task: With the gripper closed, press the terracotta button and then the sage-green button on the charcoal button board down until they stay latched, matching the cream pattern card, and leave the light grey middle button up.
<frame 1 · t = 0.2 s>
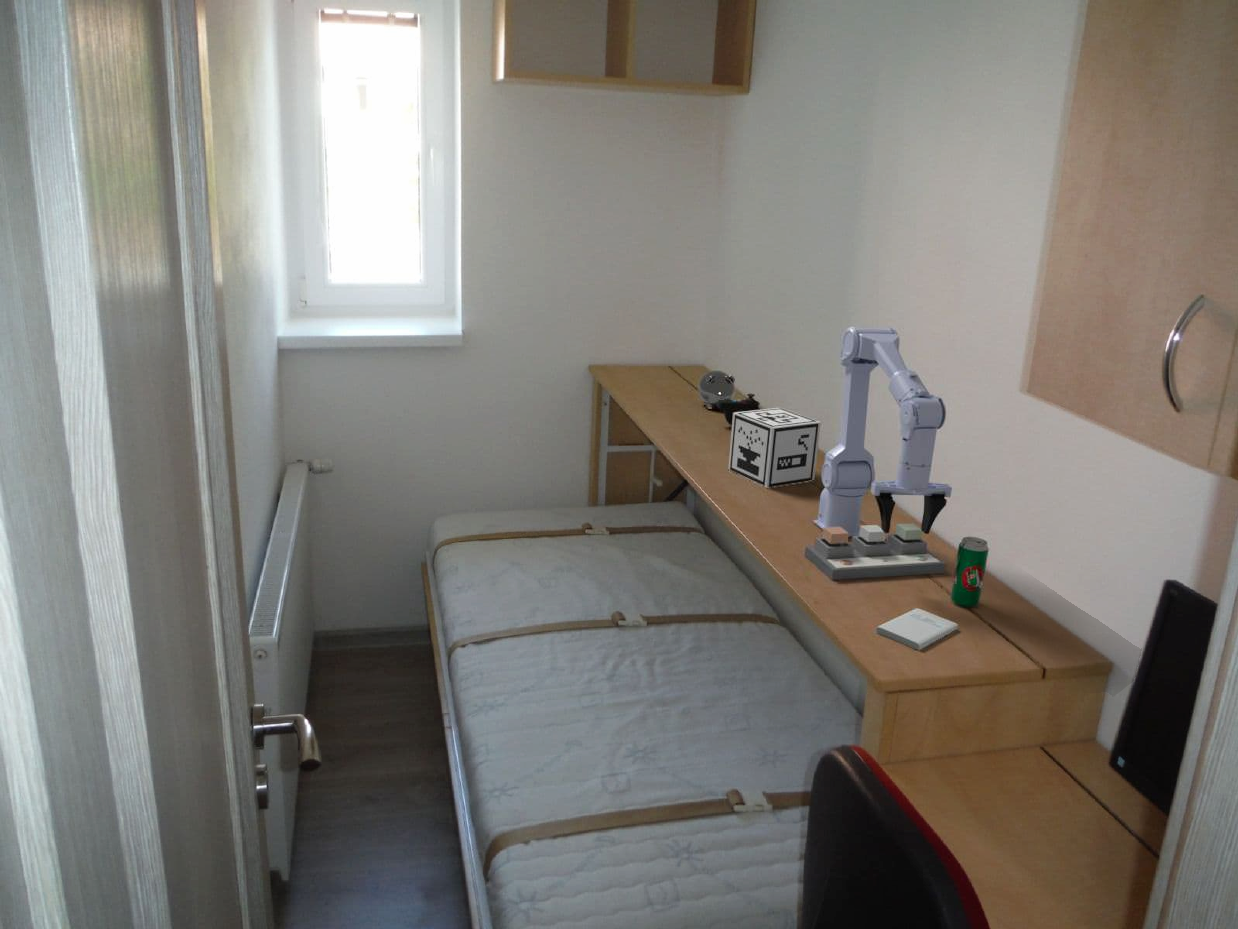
hand: (905, 531, 191), 10 cm above the shelf, tool pointing down, fingers open, 7 cm apart
controller: (736, 428, 295), on the shelf
sage button: (908, 531, 203), point 6 cm above the shelf, slide at 0.0 cm
external hard drive: (916, 634, 174), on the shelf
soda can: (964, 603, 186), on the shelf
terracotta button: (835, 535, 199), point 6 cm above the shelf, slide at 0.0 cm
piggy bank: (715, 408, 317), on the shelf
button board: (873, 564, 201), on the shelf
pattern card: (882, 571, 198), resting on button board
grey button: (872, 533, 201), point 6 cm above the shelf, slide at 0.0 cm
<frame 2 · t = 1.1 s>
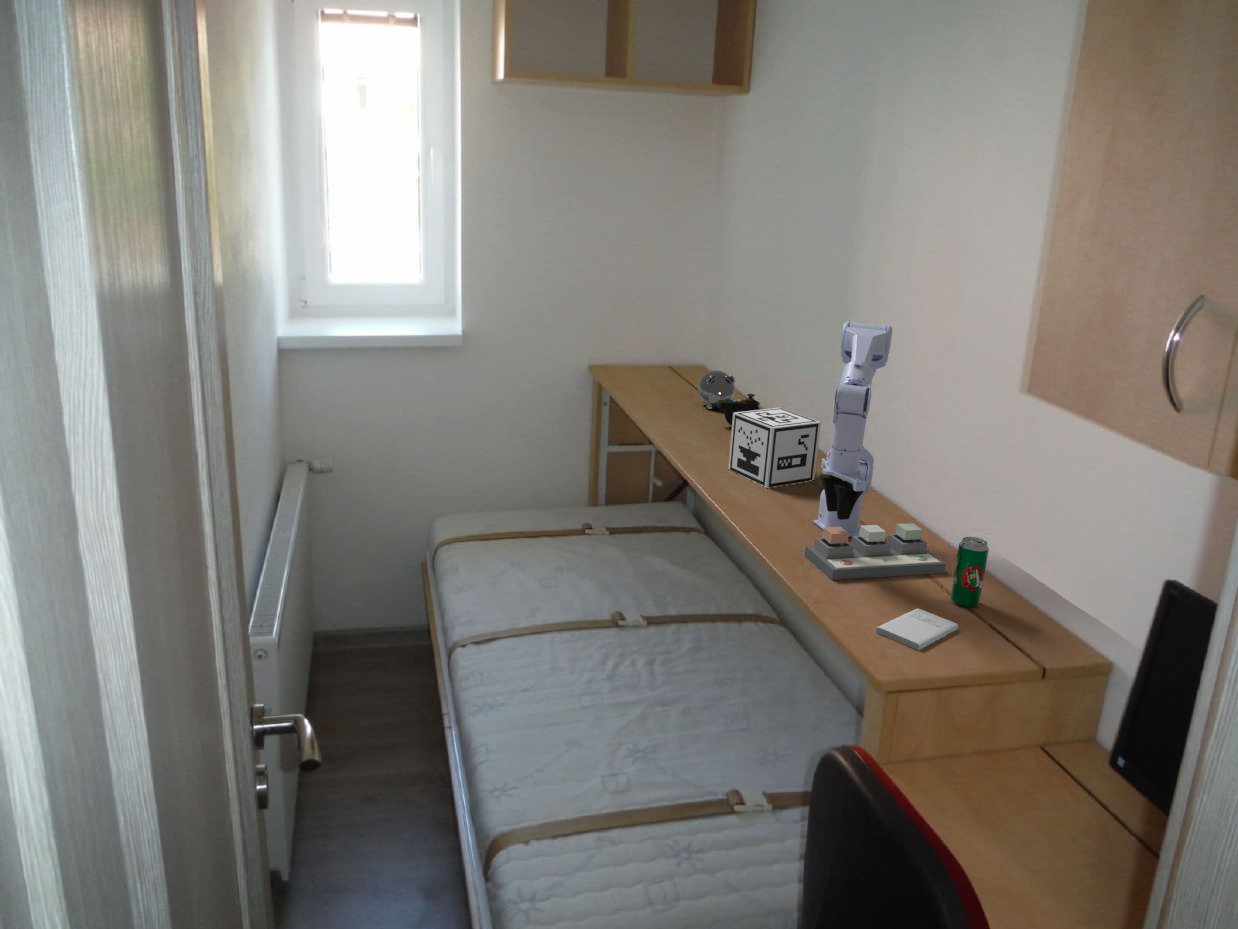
hand: (837, 514, 198), 10 cm above the shelf, tool pointing down, fingers open, 4 cm apart
nothing on the shelf moved.
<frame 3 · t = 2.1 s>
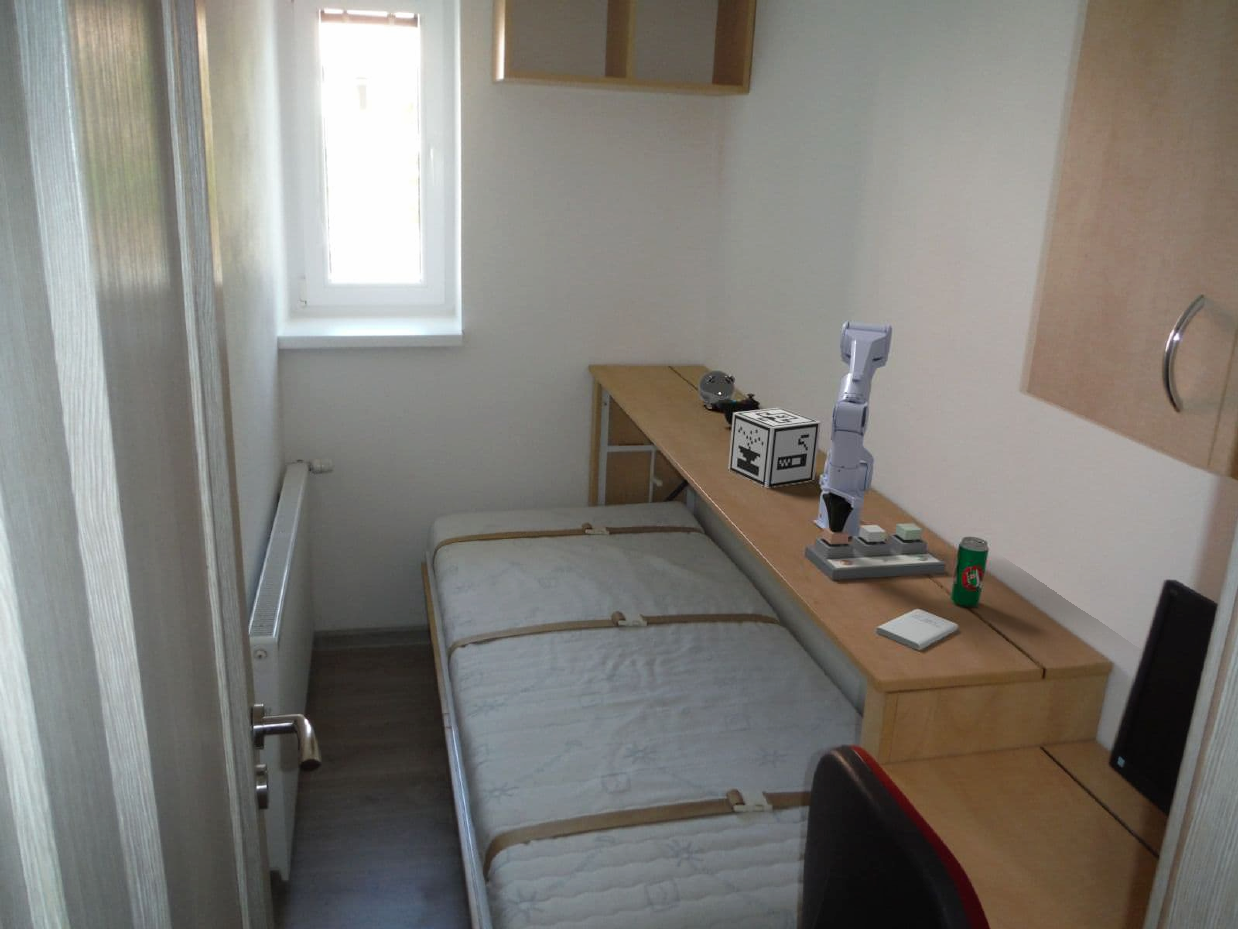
hand: (835, 531, 199), 7 cm above the shelf, tool pointing down, fingers closed, pressing on terracotta button
terracotta button: (835, 535, 199), point 6 cm above the shelf, slide at 0.1 cm, touching gripper
everything else where it was.
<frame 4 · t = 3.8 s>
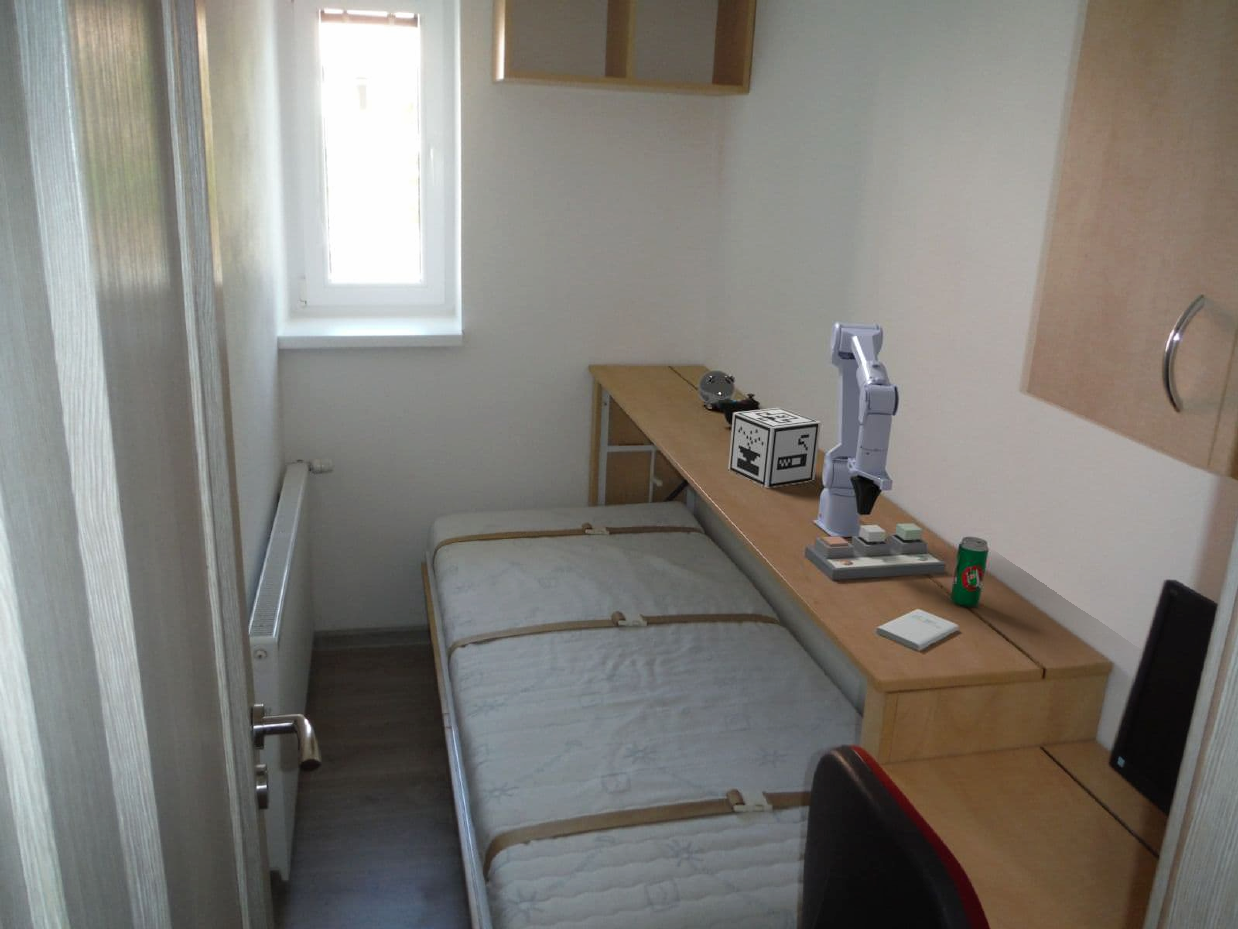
hand: (863, 513, 199), 10 cm above the shelf, tool pointing down, fingers closed
terracotta button: (834, 544, 200), point 4 cm above the shelf, slide at 2.0 cm
everything else where it was.
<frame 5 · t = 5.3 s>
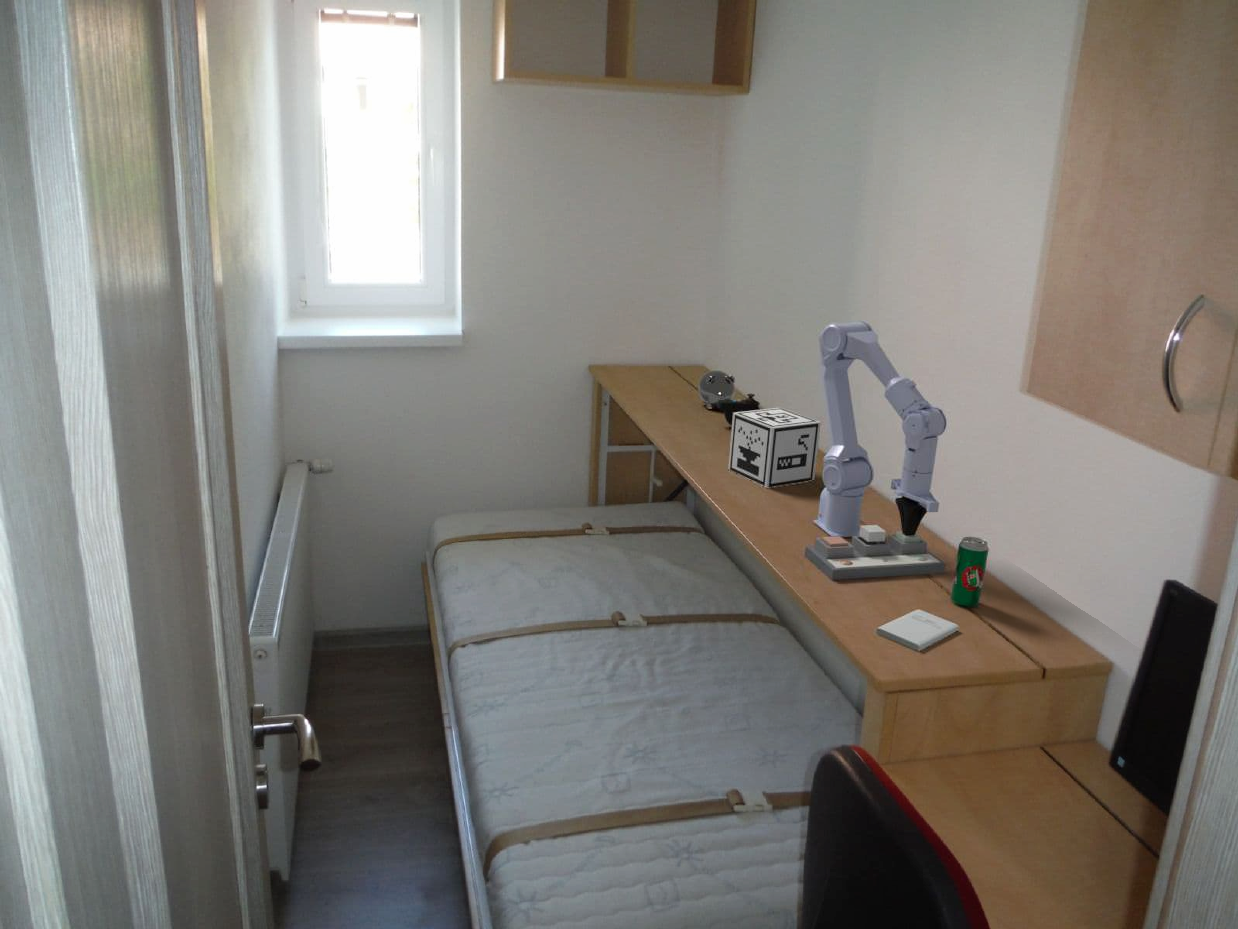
hand: (908, 534, 203), 5 cm above the shelf, tool pointing down, fingers closed, pressing on sage button
sage button: (907, 538, 204), point 4 cm above the shelf, slide at 1.6 cm, touching gripper
everything else where it was.
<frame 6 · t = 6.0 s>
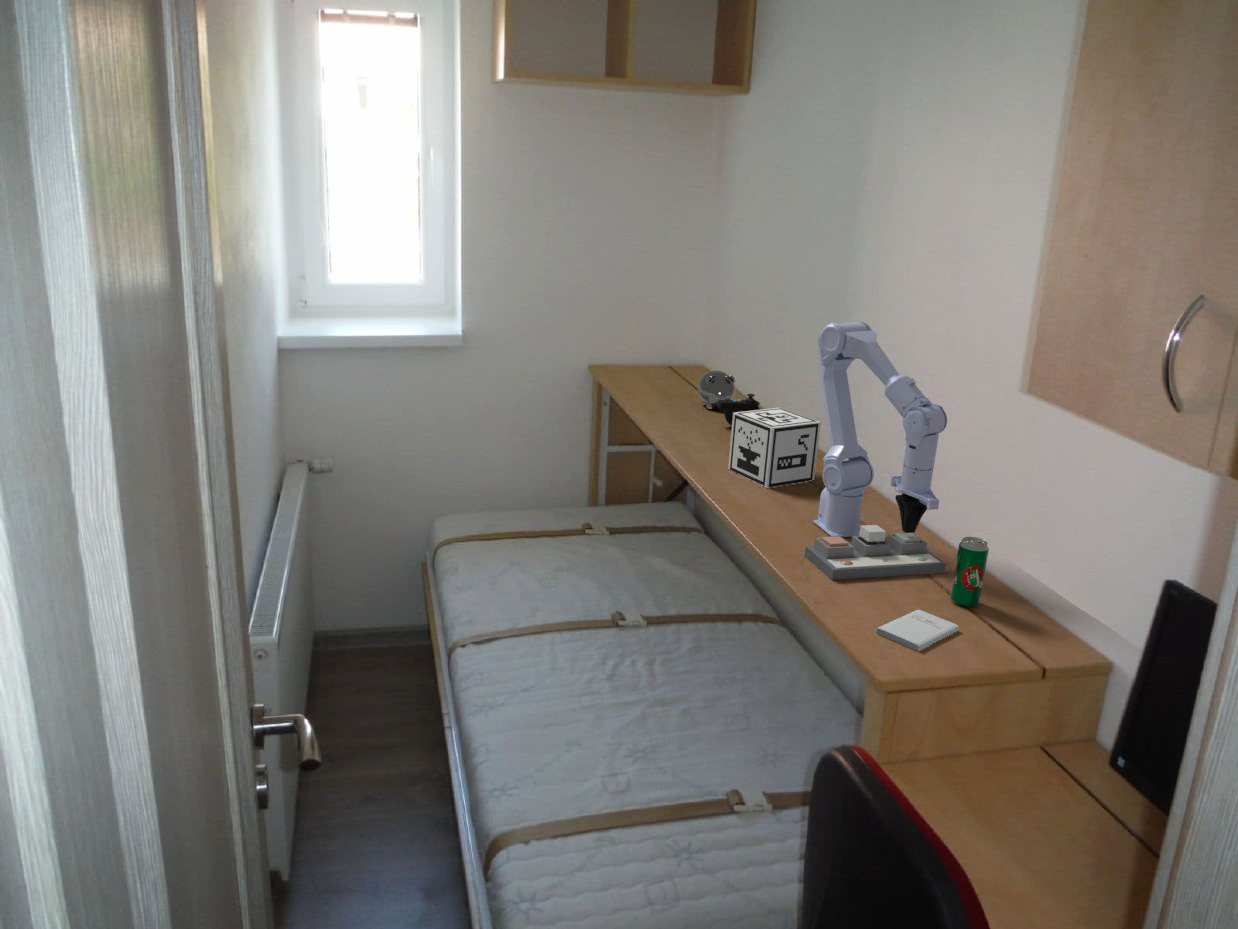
hand: (908, 531, 203), 6 cm above the shelf, tool pointing down, fingers closed
sage button: (907, 541, 204), point 4 cm above the shelf, slide at 2.0 cm
everything else where it was.
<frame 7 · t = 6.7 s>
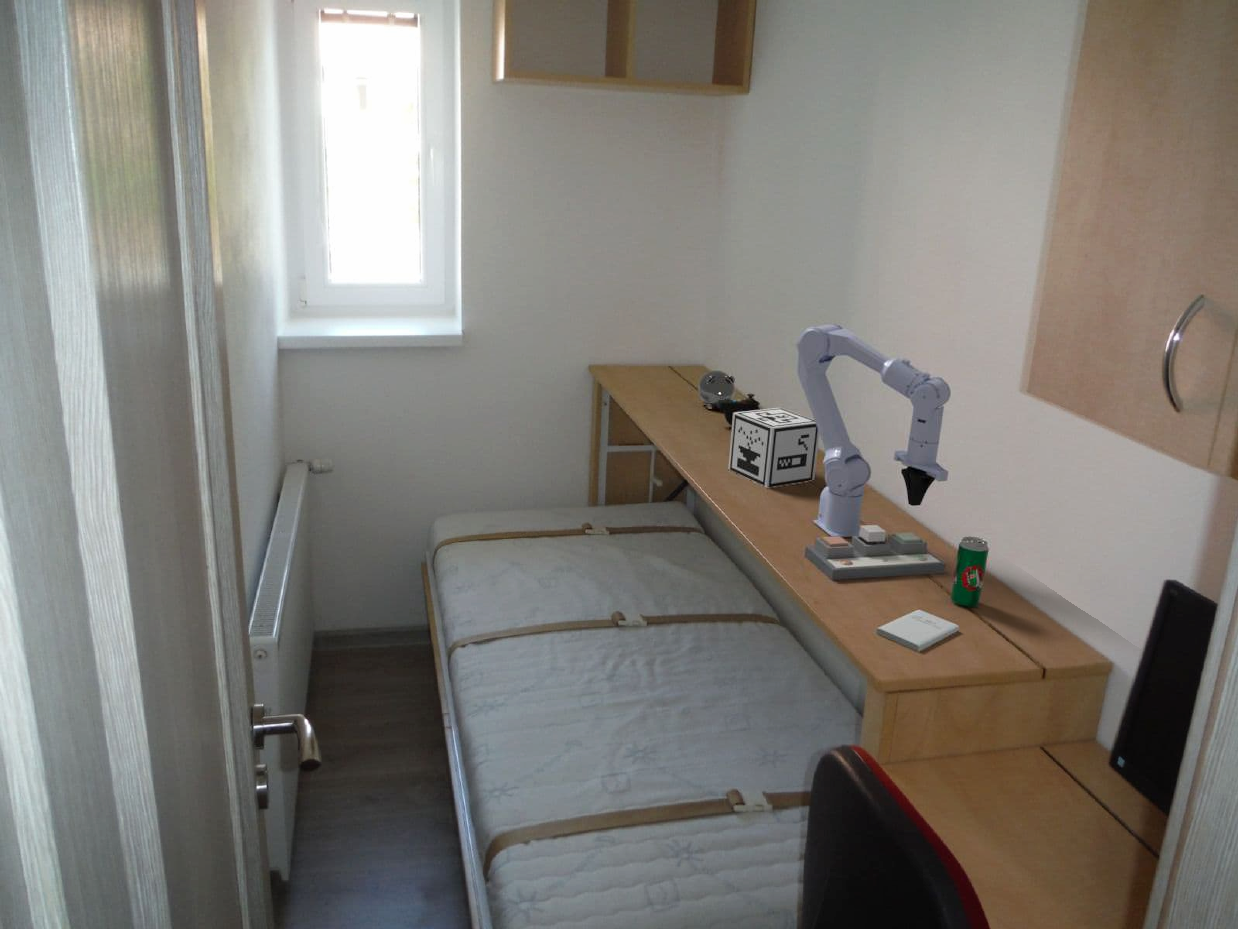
hand: (914, 504, 206), 10 cm above the shelf, tool pointing down, fingers closed
nothing on the shelf moved.
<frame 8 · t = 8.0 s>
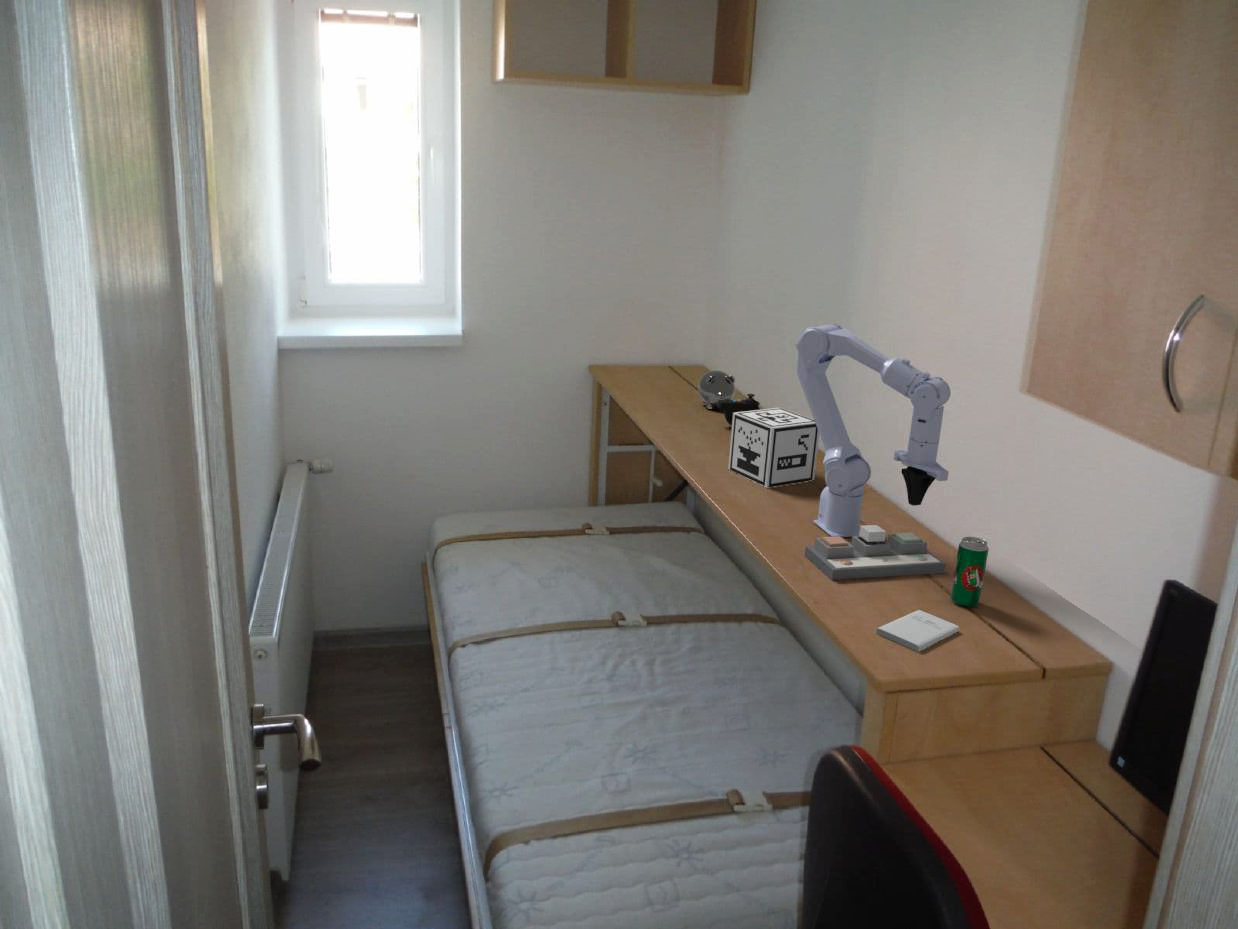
hand: (914, 504, 206), 10 cm above the shelf, tool pointing down, fingers closed
nothing on the shelf moved.
at the end: terracotta button slide at 2.0 cm; sage button slide at 2.0 cm; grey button slide at 0.0 cm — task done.
